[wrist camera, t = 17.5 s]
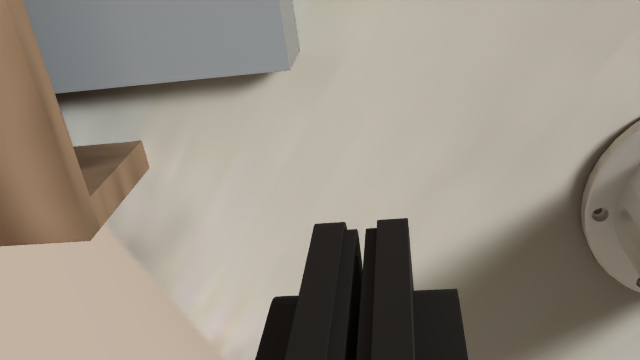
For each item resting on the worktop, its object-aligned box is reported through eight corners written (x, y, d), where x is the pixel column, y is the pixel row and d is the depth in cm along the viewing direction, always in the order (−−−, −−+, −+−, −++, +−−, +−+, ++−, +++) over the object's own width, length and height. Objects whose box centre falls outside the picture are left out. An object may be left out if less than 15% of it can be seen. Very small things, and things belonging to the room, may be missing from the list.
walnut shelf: (72, -100, 31) (-27, -90, 23) (149, 168, 37) (90, 240, 30) (-77, -77, 32) (-216, -61, 25) (22, 177, 39) (-64, 250, 31)
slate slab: (286, -49, 31) (272, -38, 27) (300, 48, 33) (289, 70, 30) (1, -12, 33) (-45, 3, 30) (32, 76, 36) (-7, 99, 32)
